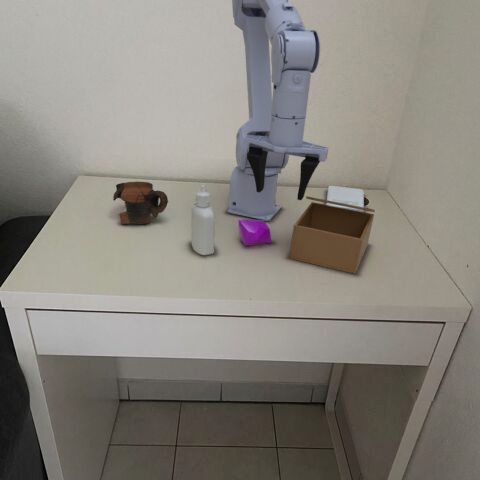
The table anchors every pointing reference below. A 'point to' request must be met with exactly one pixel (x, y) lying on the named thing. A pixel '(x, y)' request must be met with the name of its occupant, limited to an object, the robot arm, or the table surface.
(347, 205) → the carton flap
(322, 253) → the carton
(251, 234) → the crystal
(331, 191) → the hard drive
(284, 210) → the table surface
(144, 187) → the pottery mug
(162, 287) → the table surface
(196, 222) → the eye dropper bottle
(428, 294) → the table surface
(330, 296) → the table surface
